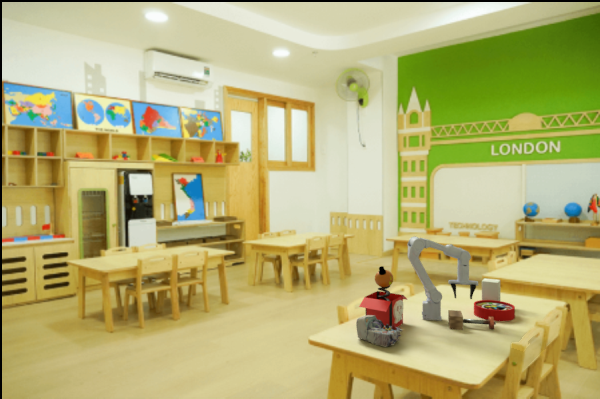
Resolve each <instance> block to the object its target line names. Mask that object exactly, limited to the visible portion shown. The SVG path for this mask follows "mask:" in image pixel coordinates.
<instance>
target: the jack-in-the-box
mask: <svg viewBox="0 0 600 399" xmlns="http://www.w3.org/2000/svg"><path fill="white" fill-rule="evenodd" d="M384 267H385V266H379V267H378V271H377V272H376V274H375V276H374V282H375V283H376V285H377V286H379V287H377V291H374V292H372V293H370V294H368V295H366V296H364V297H363V299H362V301H361V303H360V304H359V306H358V307H359V308H364V309H365V316H366V315H375V316H376V318H377V320H380V321H382V323H383V324H384V326H386V324H389V326H392V324H394V325H395V326H396V327H398V326H399V327H400V326H402V325H403V324H404V300H405V301H406V300H408V298H407V297H406V296H405V295H404V294H400V293H393V292H390V291H389V290H387V289H389V288H391V286H392V284H393V283H394V275H393V274H392V272H391V271H389V270H388V269H385V268H384ZM401 324H402V325H401ZM399 327H398V328H399Z"/></svg>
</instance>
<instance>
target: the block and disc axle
mask: <svg viewBox="0 0 600 399" xmlns="http://www.w3.org/2000/svg"><path fill="white" fill-rule="evenodd" d="M463 324H473V325H485V326H486V325H488V329H489V330H495V326H496V325H497V321H494V317H490V316H489V318H488V320H485V319H473V318H471V319H470V318H463Z"/></svg>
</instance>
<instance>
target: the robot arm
mask: <svg viewBox="0 0 600 399" xmlns="http://www.w3.org/2000/svg"><path fill="white" fill-rule="evenodd" d="M406 245H407V259H408V260H409V262H410V264H411V265H412V267H413V269H414V271H415V273H416V275H417V277H418V278H419V280H420V282H421V283H422V286H423V289H424V293H425V296H426V300H422V311H421V315H422V320H424V321H425V320H426V321H427V320H428V321H440V322H441V321H443V319H442V312H441V311H442V308H441V304H442V302H441V301H442V299H443V294H442V293H441V291H439V290H438V289H437V287H436V285H435V284H434V283H433V281H432V279H431V278H430V275H429V274H428V273H427V270H426V269H425V267H424V265H423V264H422V262H421V259H420V254H421V252H423V250H424V249H428V248H432V249H434V250H438V251H440V252H443V255H445V256H448V257H450V258H454V259H457V263H456V265H457V267H456V269H457V272H456V274H457V276H456V277H457V278H456V279H448V283H447V284H448V285H450V288H452V291H453V295H454V299H457V285H461V286H463V285H465V286H467V285H468V286H469V289H470V290H469V299H470V300H473V296H474V293H475V291H476V288H477V286H479V281H478V280H470V260H471V259H472V255H471V254H470V252H469V251H468V250H466V249H463V248H462V247H461V246H460V247H457V246H455V245H454V244H452V243H450V244H446V245H444V244H441V243H438V242H436V241H433V240H431V239H427V238H423V237H418V236H417V235H416V236H415V235H414V236H411V237H410V238H409V239H408V241H407V244H406Z"/></svg>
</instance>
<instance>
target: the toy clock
mask: <svg viewBox="0 0 600 399" xmlns="http://www.w3.org/2000/svg"><path fill="white" fill-rule="evenodd" d="M515 307H516V306H515V305H514V304H512V303H511V302H510V303H509V302H506V301H501V300H500V301H495V300H482V299H480V300H476V301H474V303H473V315H474V316H476V317H477V318H479V319H481V320H488V318H489V316H490V317H494V321H496V322H509V321H510V322H511V321H514V320H515V316H516V309H515Z"/></svg>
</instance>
